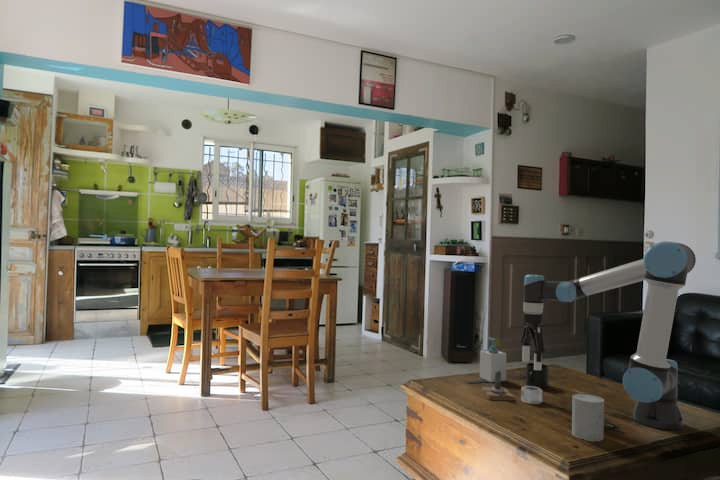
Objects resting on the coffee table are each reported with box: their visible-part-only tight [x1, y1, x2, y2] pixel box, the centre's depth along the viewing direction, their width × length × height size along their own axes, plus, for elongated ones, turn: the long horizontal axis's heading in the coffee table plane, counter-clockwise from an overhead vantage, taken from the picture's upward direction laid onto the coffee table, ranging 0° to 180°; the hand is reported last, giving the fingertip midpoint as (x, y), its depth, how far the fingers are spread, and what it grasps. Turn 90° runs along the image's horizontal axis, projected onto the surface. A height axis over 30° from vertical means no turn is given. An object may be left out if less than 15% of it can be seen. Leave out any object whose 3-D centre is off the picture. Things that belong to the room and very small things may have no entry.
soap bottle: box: [479, 336, 507, 383], centre depth 220 cm, size 9×9×19 cm
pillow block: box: [481, 371, 515, 401], centre depth 194 cm, size 12×10×10 cm
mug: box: [525, 362, 550, 389], centre depth 211 cm, size 9×12×9 cm
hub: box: [520, 385, 543, 405], centre depth 188 cm, size 7×7×5 cm
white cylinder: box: [571, 392, 605, 442], centre depth 153 cm, size 10×10×12 cm
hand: (531, 365), depth 189 cm, fingers open, 13 cm apart
